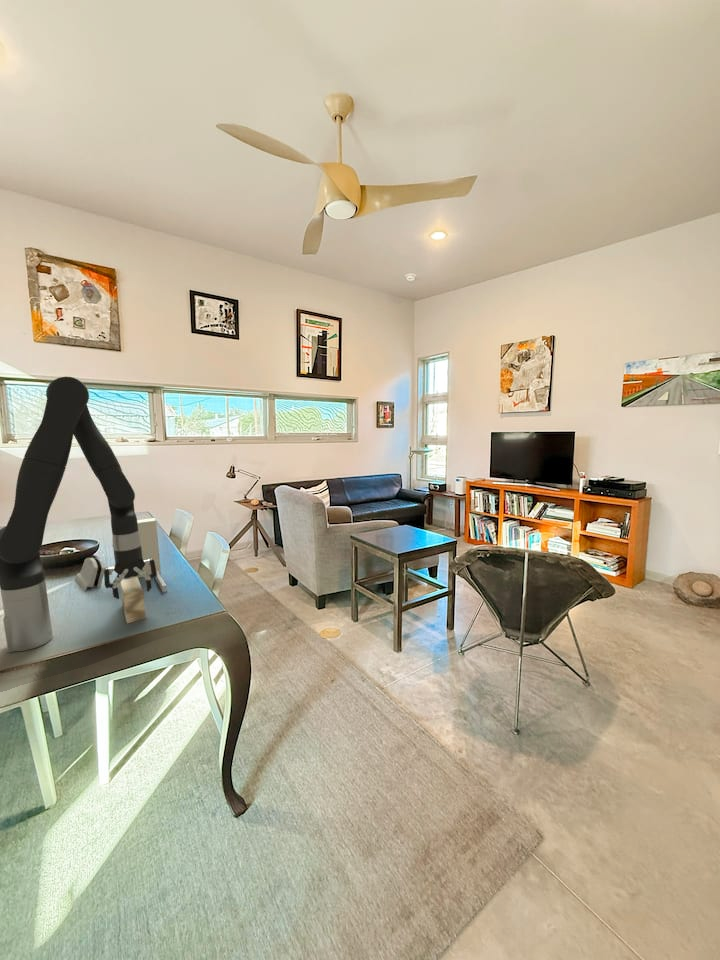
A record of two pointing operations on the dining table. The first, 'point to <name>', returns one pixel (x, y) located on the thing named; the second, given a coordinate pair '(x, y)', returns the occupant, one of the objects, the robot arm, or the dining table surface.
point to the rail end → (132, 599)
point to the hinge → (91, 573)
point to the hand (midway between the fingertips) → (133, 594)
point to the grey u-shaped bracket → (150, 548)
